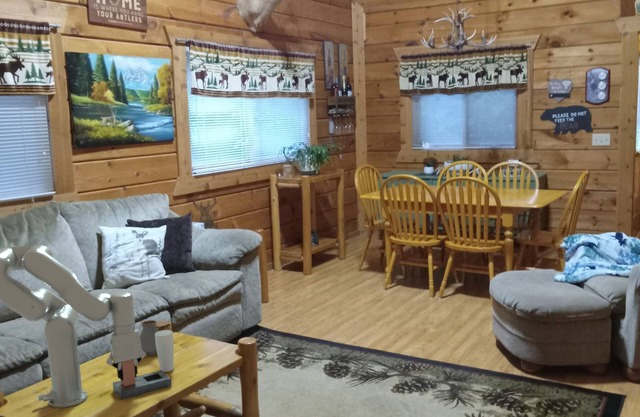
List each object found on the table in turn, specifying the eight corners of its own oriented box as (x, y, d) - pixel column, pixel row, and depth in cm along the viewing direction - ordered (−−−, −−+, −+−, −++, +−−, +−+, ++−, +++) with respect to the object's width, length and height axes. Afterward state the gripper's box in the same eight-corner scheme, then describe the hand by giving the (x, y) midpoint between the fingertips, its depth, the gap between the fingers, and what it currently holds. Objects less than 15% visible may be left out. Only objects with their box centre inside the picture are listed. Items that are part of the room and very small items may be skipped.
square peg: (124, 386, 219) (122, 362, 218) (121, 383, 223) (119, 358, 221) (135, 383, 221) (133, 359, 220) (132, 380, 225) (130, 356, 224)
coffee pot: (131, 353, 261) (128, 318, 259) (155, 345, 270) (152, 311, 268) (161, 364, 247) (157, 328, 245) (184, 355, 256) (182, 320, 254)
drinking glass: (171, 373, 237) (168, 336, 235) (154, 373, 238) (151, 335, 236) (178, 367, 244) (175, 330, 242) (162, 366, 245) (159, 329, 243)
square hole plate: (121, 400, 216) (120, 391, 215) (113, 390, 224) (112, 382, 224) (171, 386, 226) (170, 378, 225) (162, 377, 234) (161, 370, 234)
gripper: (102, 335, 212) (106, 387, 214) (150, 325, 221) (154, 375, 223) (96, 330, 218) (101, 380, 220) (144, 320, 227) (147, 368, 229)
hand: (127, 377), depth 222 cm, fingers closed on square peg, 4 cm apart
